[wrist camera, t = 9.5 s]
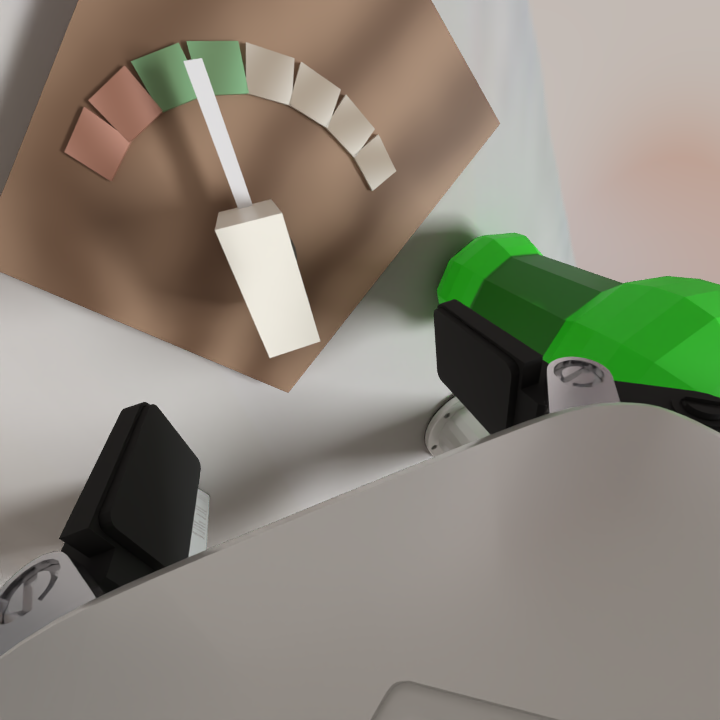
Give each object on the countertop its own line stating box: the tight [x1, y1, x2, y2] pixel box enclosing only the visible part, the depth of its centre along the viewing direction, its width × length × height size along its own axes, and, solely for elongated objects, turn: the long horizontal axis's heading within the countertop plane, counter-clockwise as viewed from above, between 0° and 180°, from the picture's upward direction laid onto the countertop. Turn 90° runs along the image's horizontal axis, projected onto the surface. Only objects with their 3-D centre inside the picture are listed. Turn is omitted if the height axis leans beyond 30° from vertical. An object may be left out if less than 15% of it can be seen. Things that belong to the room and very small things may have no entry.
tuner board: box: [0, 0, 500, 393], centre depth 20 cm, size 20×26×3 cm
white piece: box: [183, 58, 320, 358], centre depth 17 cm, size 3×13×7 cm, turn 10°
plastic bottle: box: [437, 233, 720, 398], centre depth 21 cm, size 10×10×25 cm
